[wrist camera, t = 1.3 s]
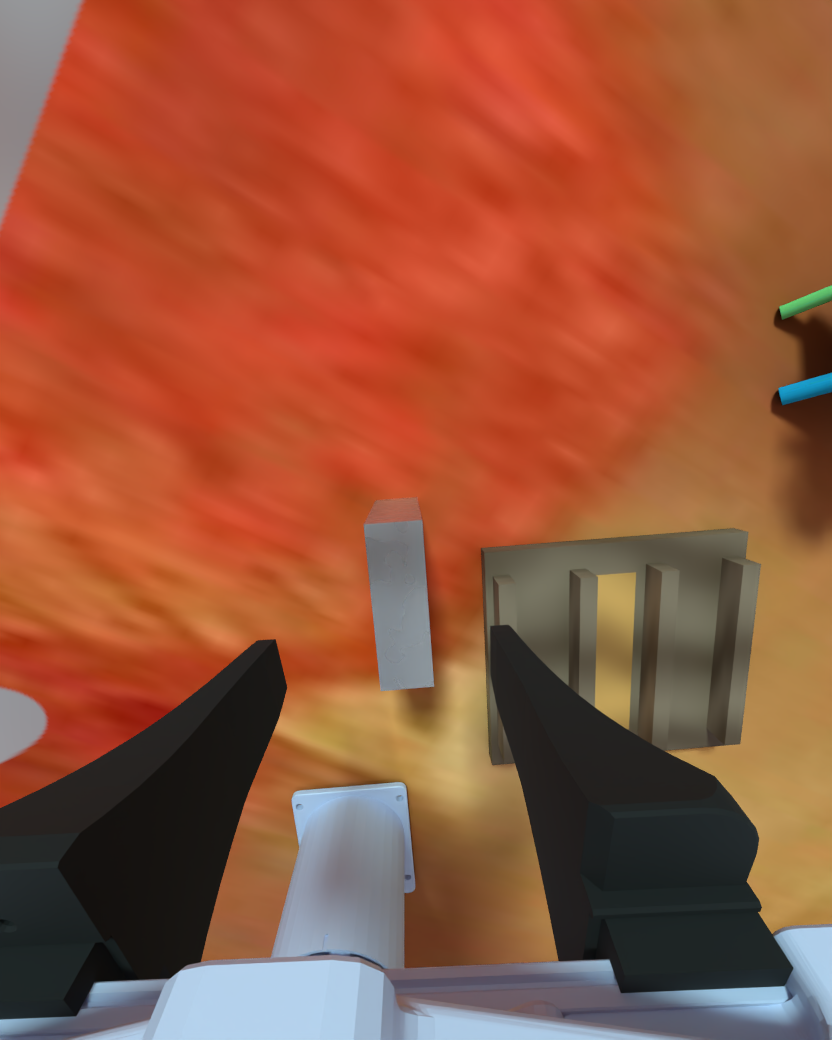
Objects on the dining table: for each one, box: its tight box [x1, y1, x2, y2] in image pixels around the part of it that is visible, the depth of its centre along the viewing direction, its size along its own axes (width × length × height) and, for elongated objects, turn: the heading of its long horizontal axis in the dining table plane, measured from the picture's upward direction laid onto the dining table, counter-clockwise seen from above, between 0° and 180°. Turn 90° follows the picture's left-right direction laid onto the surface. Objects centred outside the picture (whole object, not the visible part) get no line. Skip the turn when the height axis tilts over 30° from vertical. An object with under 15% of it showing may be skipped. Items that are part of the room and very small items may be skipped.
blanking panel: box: [364, 497, 434, 691], centre depth 20 cm, size 8×2×7 cm, turn 4°
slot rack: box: [481, 528, 761, 765], centre depth 24 cm, size 15×16×3 cm
